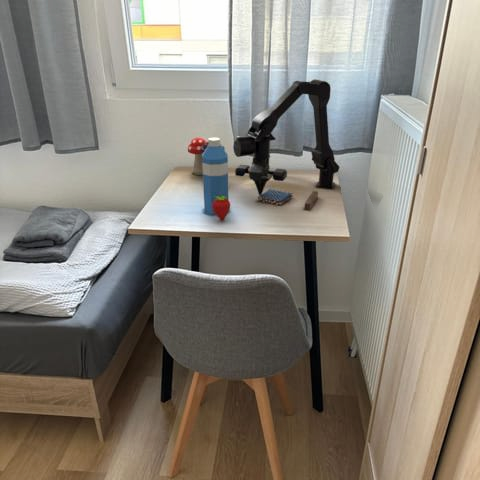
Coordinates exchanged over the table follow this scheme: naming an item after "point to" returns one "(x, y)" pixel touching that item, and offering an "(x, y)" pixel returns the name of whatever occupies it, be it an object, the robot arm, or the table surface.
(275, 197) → the woven mat
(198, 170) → the decorative mushroom
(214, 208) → the strawberry
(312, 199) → the bar
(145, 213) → the table surface
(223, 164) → the water bottle
